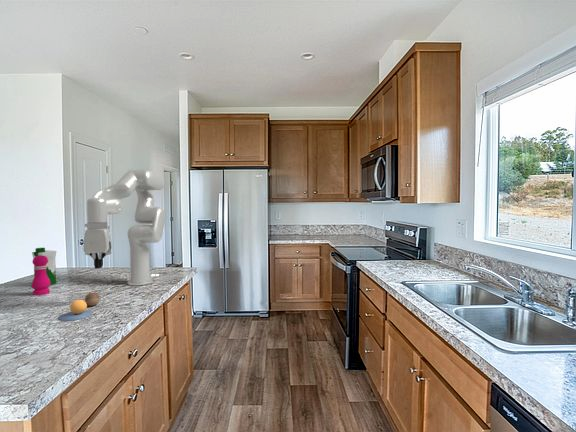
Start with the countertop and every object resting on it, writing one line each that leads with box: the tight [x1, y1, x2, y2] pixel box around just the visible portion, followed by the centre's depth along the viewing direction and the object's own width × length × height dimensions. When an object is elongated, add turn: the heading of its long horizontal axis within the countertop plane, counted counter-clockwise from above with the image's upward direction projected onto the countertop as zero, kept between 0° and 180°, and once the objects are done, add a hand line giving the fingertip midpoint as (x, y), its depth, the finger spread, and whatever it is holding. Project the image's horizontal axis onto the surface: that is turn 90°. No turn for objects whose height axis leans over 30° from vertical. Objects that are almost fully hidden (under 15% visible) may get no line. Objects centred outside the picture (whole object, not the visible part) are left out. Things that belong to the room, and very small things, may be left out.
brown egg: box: [84, 292, 101, 307], centre depth 137 cm, size 6×6×6 cm
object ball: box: [69, 299, 88, 314], centre depth 127 cm, size 6×6×6 cm
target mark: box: [57, 310, 93, 322], centre depth 125 cm, size 11×11×1 cm
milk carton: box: [31, 247, 57, 286], centre depth 173 cm, size 9×9×20 cm
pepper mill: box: [31, 252, 51, 296], centre depth 156 cm, size 7×7×20 cm
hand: (98, 267), depth 142 cm, fingers closed
